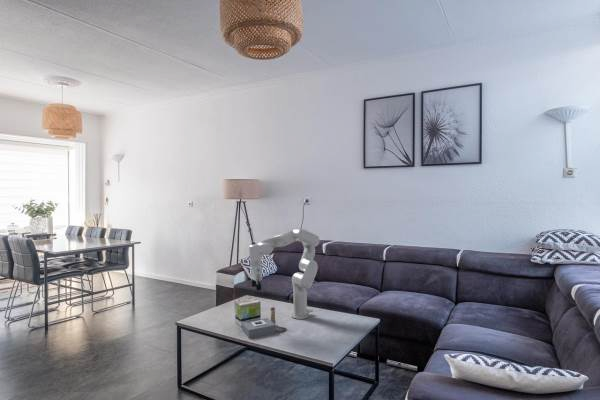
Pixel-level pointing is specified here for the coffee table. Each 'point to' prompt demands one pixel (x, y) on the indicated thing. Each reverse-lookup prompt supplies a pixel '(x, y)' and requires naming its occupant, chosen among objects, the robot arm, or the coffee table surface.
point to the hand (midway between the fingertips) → (256, 288)
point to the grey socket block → (258, 327)
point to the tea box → (247, 311)
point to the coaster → (280, 329)
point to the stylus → (273, 314)
